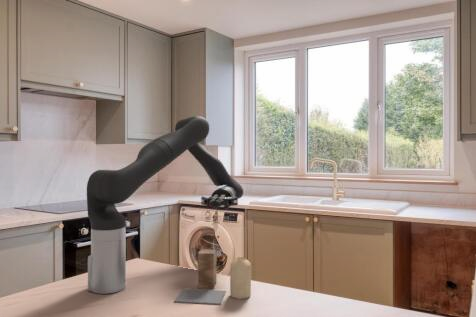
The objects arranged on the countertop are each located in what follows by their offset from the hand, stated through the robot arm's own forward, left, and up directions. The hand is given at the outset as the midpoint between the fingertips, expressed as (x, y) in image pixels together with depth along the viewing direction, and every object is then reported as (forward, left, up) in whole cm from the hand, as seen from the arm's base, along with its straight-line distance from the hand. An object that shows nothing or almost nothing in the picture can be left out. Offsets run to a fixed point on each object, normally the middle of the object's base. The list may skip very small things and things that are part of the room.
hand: (214, 204), depth 121 cm
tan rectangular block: (0, -11, -22) cm, 25 cm away
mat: (0, -20, -22) cm, 29 cm away
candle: (+10, -17, -22) cm, 30 cm away
